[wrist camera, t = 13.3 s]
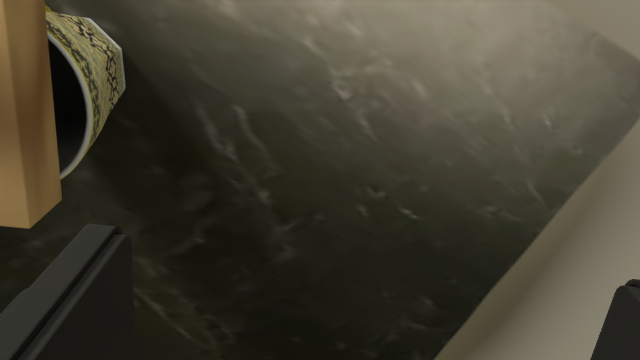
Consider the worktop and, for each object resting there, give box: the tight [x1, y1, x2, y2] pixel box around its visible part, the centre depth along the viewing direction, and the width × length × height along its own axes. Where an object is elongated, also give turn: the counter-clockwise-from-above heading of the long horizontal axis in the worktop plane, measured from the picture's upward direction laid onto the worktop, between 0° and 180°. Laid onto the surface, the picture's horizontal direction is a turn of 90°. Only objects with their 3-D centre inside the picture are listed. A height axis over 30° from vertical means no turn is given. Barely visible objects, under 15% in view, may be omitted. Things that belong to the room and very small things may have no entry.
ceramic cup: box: [45, 5, 126, 180], centre depth 32 cm, size 13×10×10 cm
